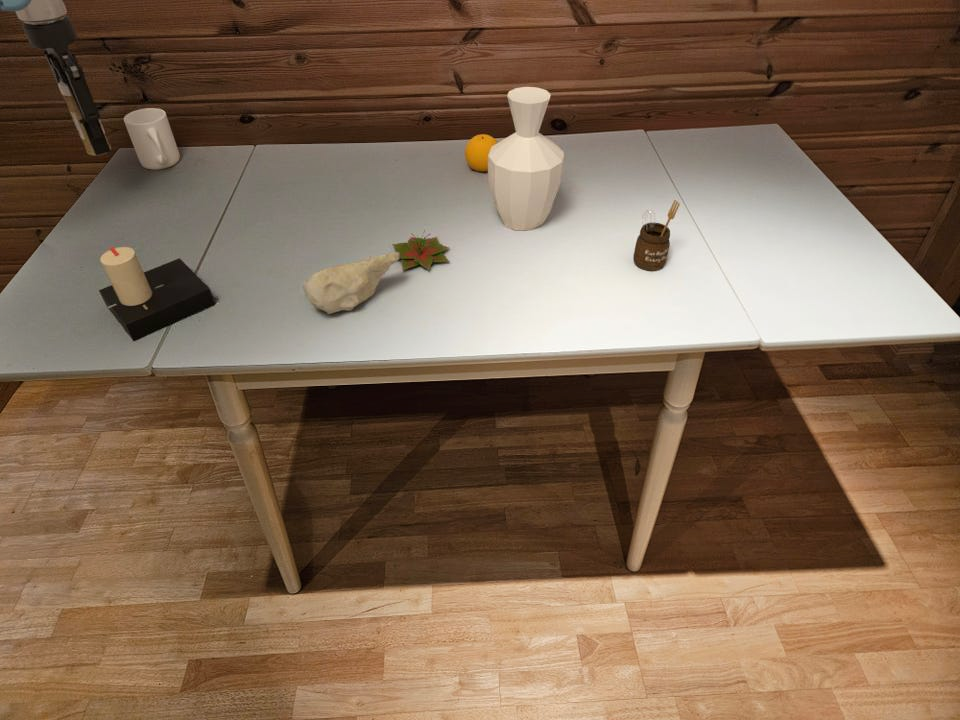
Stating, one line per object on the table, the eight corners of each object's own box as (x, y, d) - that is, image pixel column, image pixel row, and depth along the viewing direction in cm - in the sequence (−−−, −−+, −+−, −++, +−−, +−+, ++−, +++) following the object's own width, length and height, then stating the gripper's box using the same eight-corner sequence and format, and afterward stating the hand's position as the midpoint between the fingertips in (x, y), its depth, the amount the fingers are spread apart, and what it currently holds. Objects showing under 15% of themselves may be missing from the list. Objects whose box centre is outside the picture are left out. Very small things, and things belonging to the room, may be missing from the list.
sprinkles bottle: (108, 155, 127) (80, 85, 118) (83, 157, 126) (53, 86, 117) (114, 145, 130) (87, 76, 121) (90, 146, 130) (61, 77, 121)
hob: (129, 343, 105) (121, 325, 102) (103, 308, 111) (94, 290, 109) (215, 304, 112) (209, 287, 109) (185, 274, 118) (179, 257, 116)
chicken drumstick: (295, 331, 110) (345, 305, 99) (279, 289, 109) (327, 260, 99) (364, 311, 121) (415, 286, 111) (349, 273, 120) (400, 245, 110)
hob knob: (157, 297, 107) (138, 254, 102) (126, 310, 105) (106, 267, 99) (145, 283, 110) (126, 241, 104) (115, 295, 108) (94, 253, 102)
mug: (148, 180, 143) (130, 133, 136) (137, 159, 151) (120, 113, 143) (188, 170, 147) (173, 124, 139) (176, 150, 154) (160, 104, 147)
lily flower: (382, 244, 125) (379, 223, 122) (442, 233, 128) (441, 213, 124) (395, 280, 117) (393, 258, 114) (460, 268, 119) (459, 246, 116)
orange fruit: (504, 162, 149) (505, 130, 144) (494, 178, 144) (495, 145, 139) (471, 157, 151) (471, 125, 146) (460, 173, 146) (459, 140, 140)
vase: (529, 195, 138) (536, 74, 121) (573, 225, 130) (587, 99, 113) (473, 215, 132) (472, 91, 115) (515, 248, 124) (521, 118, 107)
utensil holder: (626, 257, 122) (637, 199, 113) (656, 250, 123) (668, 193, 115) (642, 274, 118) (654, 216, 109) (673, 267, 119) (687, 209, 111)
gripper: (85, 25, 109) (134, 157, 125) (52, 3, 119) (102, 128, 135) (36, 35, 105) (94, 169, 121) (6, 11, 115) (63, 139, 131)
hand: (98, 147), depth 128 cm, fingers closed on sprinkles bottle, 4 cm apart
